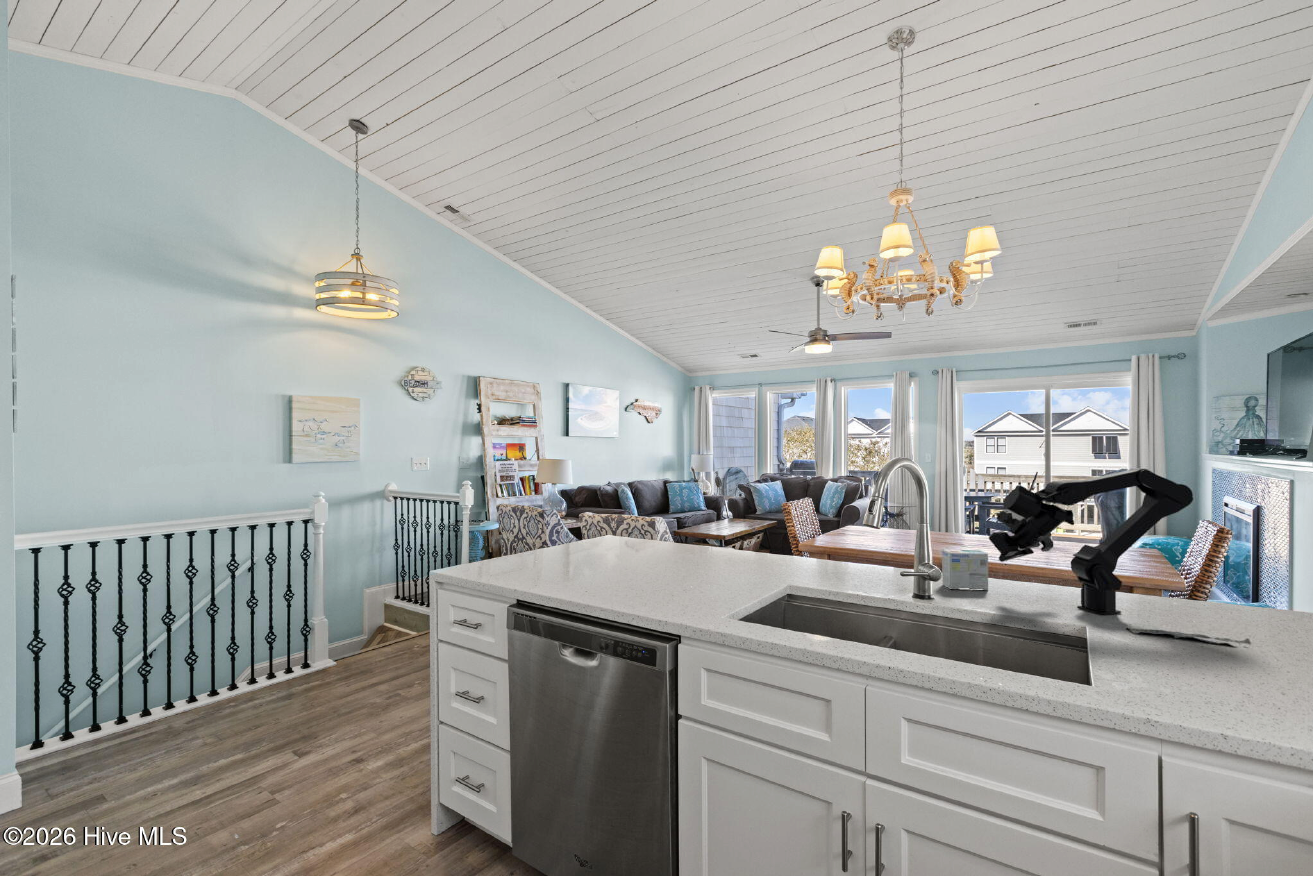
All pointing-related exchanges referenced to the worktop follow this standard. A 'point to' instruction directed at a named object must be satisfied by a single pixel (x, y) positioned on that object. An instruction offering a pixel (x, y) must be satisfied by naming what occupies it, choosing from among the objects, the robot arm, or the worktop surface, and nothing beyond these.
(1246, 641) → the driftwood
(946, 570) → the light bulb box
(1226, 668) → the worktop surface
